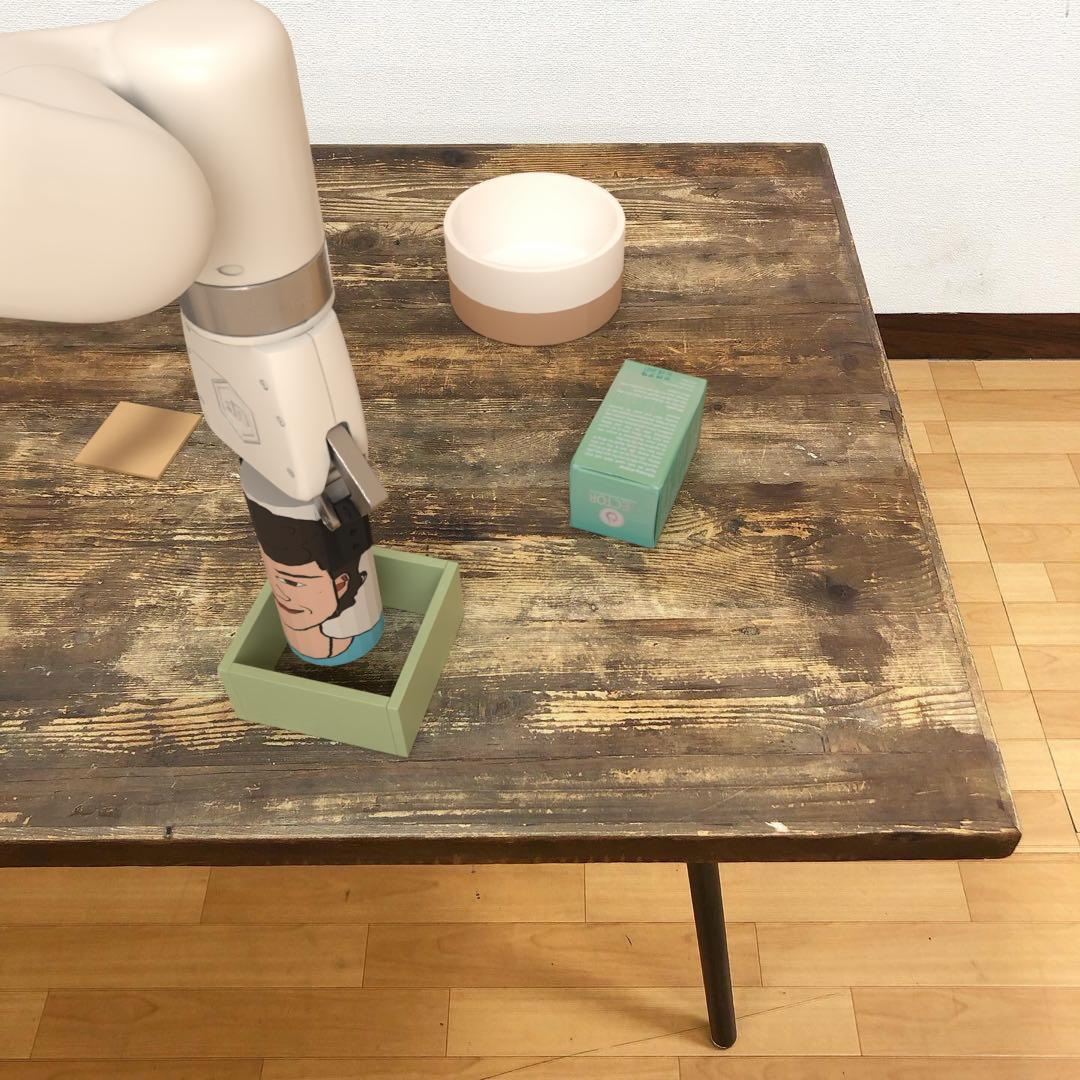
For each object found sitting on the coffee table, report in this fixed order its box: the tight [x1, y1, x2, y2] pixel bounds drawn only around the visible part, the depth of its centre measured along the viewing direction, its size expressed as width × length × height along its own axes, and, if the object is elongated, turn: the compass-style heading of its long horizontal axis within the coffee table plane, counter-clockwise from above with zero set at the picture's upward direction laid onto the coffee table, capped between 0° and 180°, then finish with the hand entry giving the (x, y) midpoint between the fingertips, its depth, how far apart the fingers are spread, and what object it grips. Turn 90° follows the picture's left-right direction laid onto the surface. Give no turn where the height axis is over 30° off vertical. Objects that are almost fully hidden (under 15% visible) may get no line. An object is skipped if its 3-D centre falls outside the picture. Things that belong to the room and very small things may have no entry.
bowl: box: [442, 171, 627, 347], centre depth 103 cm, size 17×17×8 cm
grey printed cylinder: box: [239, 459, 386, 667], centre depth 67 cm, size 7×7×15 cm
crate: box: [216, 545, 465, 758], centre depth 75 cm, size 13×13×6 cm
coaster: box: [73, 400, 203, 481], centre depth 93 cm, size 8×8×1 cm
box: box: [568, 359, 708, 549], centre depth 86 cm, size 7×14×8 cm, turn 159°
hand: (311, 523), depth 65 cm, fingers closed on grey printed cylinder, 6 cm apart
